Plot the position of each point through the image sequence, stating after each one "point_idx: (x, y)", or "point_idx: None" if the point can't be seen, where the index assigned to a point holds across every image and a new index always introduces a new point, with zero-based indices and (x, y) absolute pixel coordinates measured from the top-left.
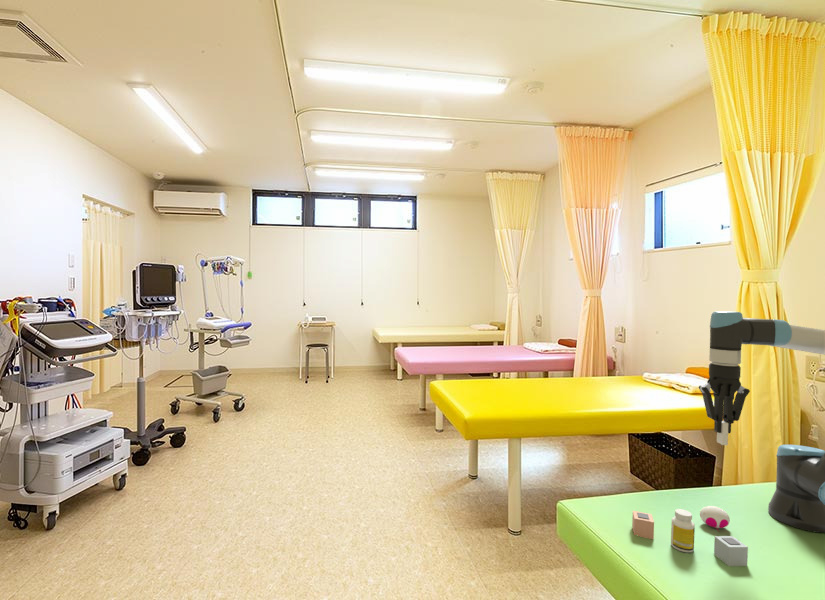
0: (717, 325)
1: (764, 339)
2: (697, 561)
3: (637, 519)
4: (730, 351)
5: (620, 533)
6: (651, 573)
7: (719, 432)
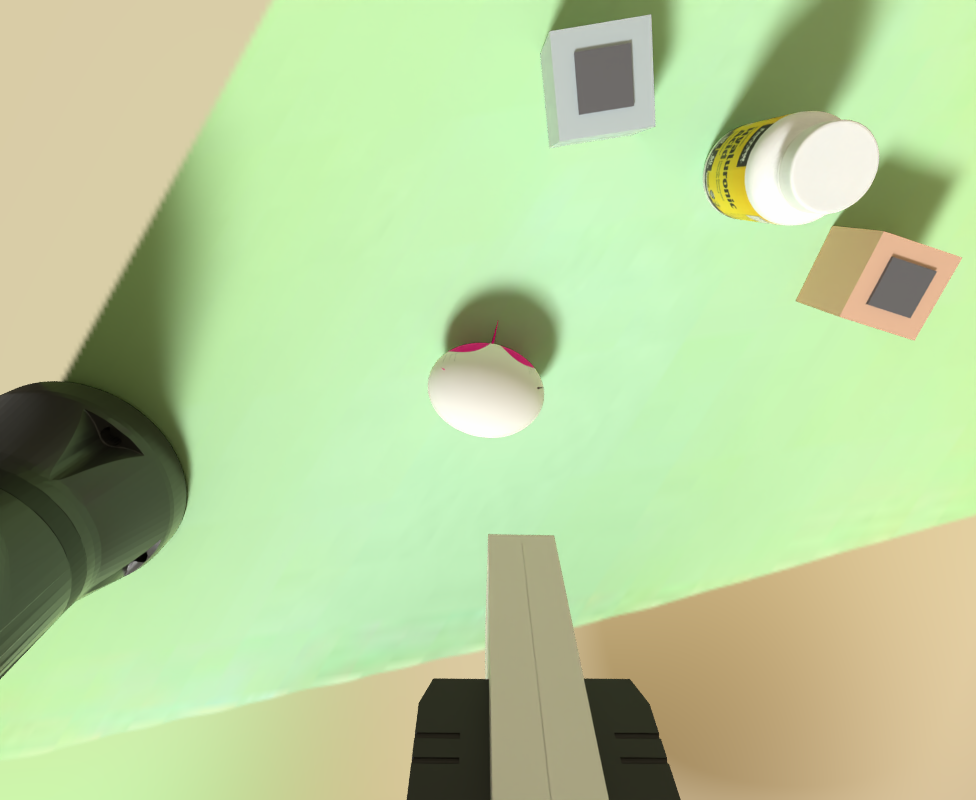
0: None
1: None
2: (747, 59)
3: (948, 253)
4: None
5: None
6: None
7: (601, 682)
